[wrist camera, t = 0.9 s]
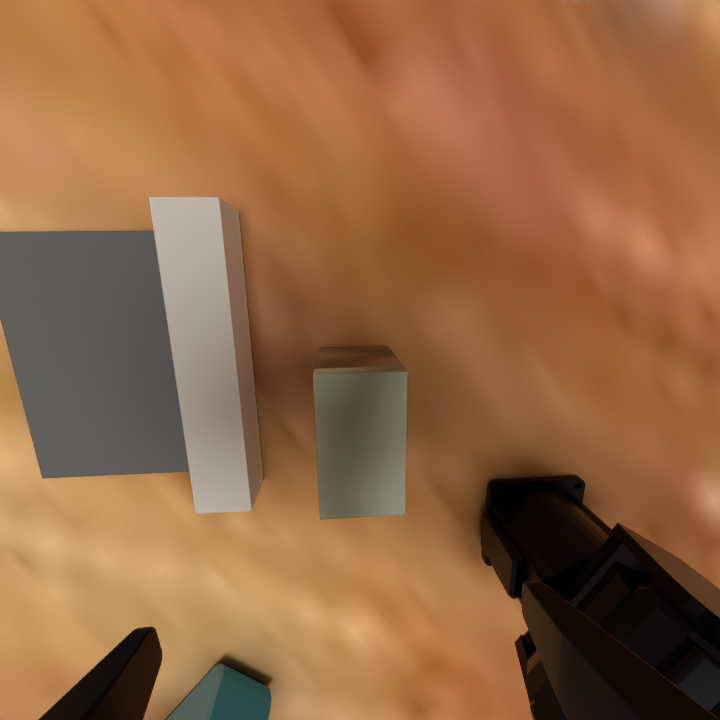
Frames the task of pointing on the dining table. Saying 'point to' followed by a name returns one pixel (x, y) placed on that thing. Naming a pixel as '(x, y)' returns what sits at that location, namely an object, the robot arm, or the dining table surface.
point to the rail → (210, 348)
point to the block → (360, 431)
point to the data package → (225, 698)
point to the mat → (92, 351)
